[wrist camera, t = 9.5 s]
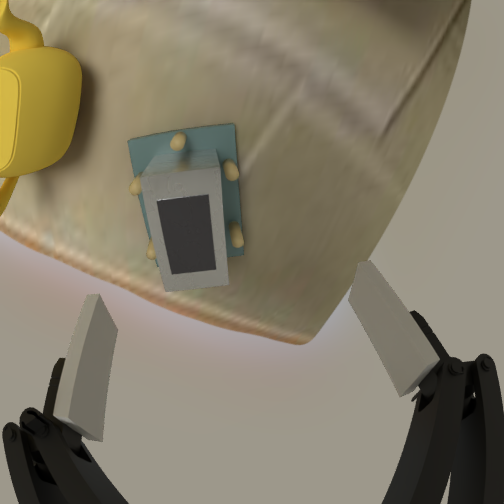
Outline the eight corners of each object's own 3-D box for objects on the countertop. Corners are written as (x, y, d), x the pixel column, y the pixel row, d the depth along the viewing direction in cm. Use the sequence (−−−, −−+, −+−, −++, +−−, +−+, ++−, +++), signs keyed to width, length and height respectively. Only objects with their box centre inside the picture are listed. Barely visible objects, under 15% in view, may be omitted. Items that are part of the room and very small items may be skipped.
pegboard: (130, 138, 23) (117, 148, 20) (232, 123, 25) (239, 128, 21) (158, 261, 32) (154, 286, 28) (242, 249, 33) (248, 273, 29)
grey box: (154, 155, 24) (139, 177, 18) (215, 148, 25) (220, 167, 19) (170, 250, 30) (165, 292, 24) (222, 245, 31) (229, 285, 25)
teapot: (118, 10, 15) (68, -31, 5) (82, 189, 25) (29, 249, 15) (21, 23, 11) (-47, 15, 1) (0, 180, 21) (-60, 229, 11)
